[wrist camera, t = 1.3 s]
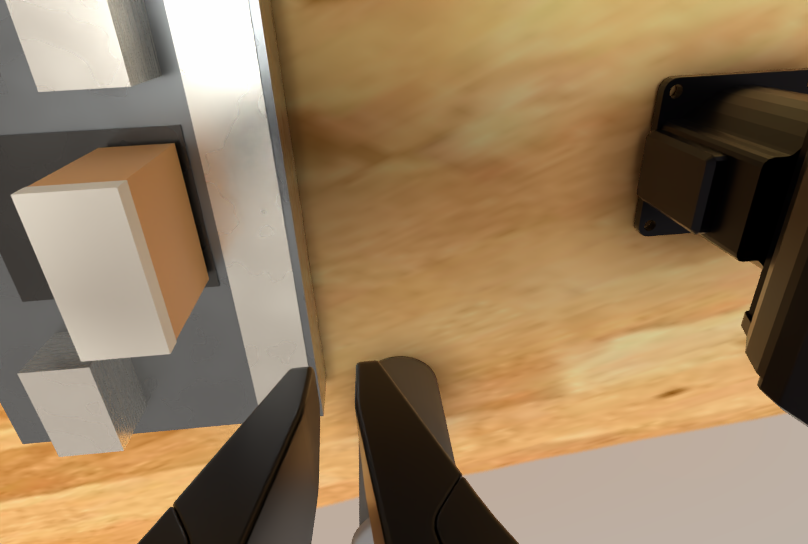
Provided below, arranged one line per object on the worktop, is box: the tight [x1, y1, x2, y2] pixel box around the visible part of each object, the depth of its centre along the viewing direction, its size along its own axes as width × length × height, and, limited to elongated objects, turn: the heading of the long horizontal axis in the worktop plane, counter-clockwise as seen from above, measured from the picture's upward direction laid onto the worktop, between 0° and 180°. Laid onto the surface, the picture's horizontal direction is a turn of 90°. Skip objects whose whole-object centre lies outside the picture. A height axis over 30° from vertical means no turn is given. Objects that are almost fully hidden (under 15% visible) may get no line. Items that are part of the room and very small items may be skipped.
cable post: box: [352, 357, 455, 544], centre depth 22 cm, size 5×5×9 cm
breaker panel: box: [0, 0, 326, 457], centre depth 18 cm, size 13×20×5 cm, turn 3°
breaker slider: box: [11, 143, 209, 362], centre depth 15 cm, size 2×5×5 cm, turn 3°
